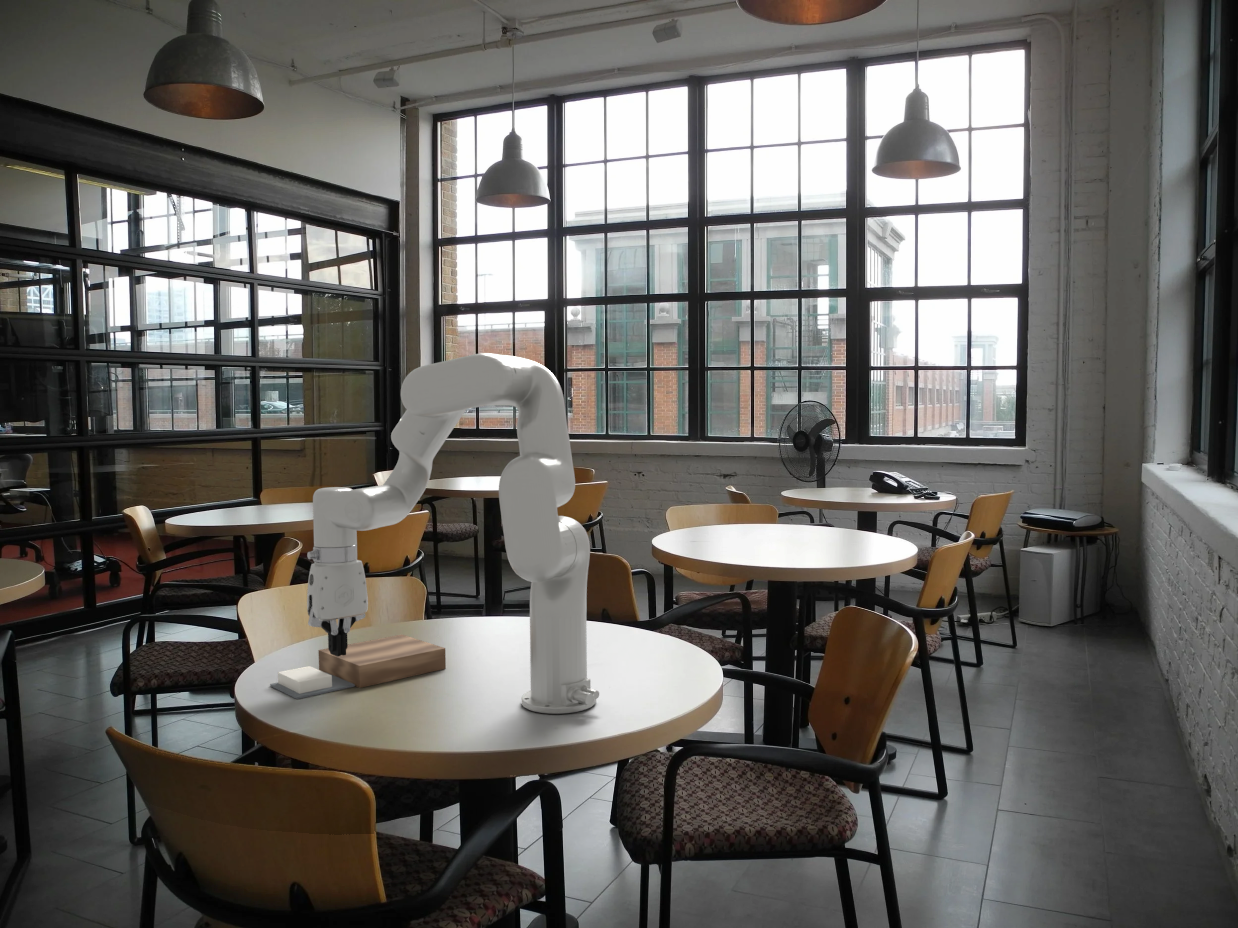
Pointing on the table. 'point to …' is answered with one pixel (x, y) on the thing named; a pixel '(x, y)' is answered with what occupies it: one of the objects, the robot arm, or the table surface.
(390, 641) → the board
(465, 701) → the table surface
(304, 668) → the cream white rectangular block
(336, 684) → the mat
